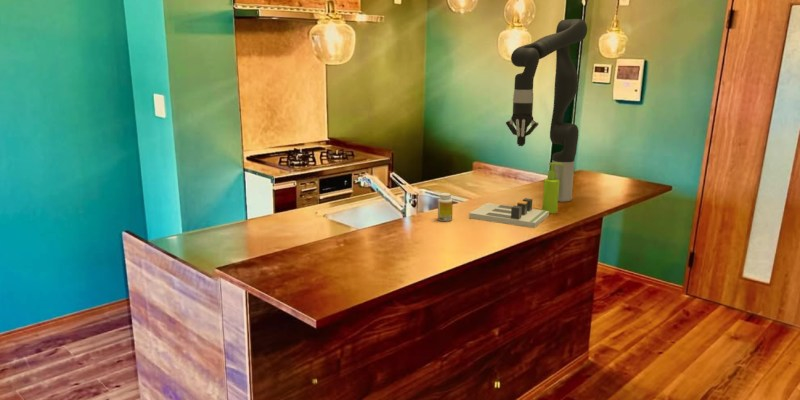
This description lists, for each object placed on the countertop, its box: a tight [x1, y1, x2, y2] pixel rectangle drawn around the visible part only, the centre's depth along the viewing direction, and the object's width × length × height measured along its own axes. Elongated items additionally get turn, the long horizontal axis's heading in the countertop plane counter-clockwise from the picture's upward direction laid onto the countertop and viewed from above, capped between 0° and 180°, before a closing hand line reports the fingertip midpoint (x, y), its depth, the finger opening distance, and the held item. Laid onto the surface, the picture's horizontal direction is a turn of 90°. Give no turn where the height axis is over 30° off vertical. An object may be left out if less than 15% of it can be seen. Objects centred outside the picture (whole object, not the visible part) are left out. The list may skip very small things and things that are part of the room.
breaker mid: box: [516, 200, 527, 215], centre depth 215 cm, size 3×3×4 cm
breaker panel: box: [468, 202, 550, 229], centre depth 219 cm, size 18×26×2 cm
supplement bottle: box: [437, 192, 454, 223], centre depth 214 cm, size 6×6×10 cm
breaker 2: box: [522, 198, 533, 211], centre depth 221 cm, size 3×3×4 cm
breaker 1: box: [511, 205, 522, 219], centre depth 210 cm, size 3×3×4 cm
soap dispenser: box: [541, 162, 563, 214], centre depth 224 cm, size 6×7×20 cm
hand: (520, 145), depth 221 cm, fingers closed
